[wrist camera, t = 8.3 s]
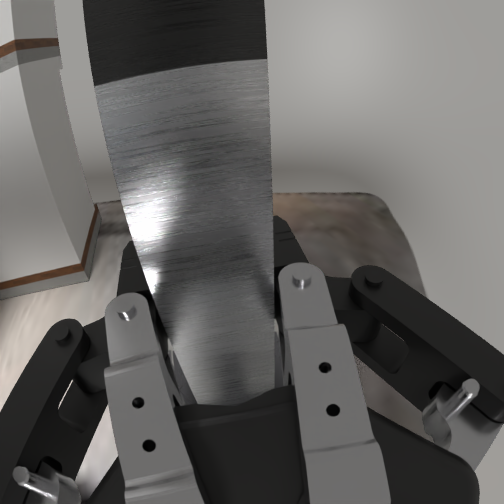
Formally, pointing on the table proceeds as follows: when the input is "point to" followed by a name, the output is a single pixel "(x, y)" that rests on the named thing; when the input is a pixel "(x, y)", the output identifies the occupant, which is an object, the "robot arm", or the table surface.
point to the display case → (39, 161)
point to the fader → (195, 179)
